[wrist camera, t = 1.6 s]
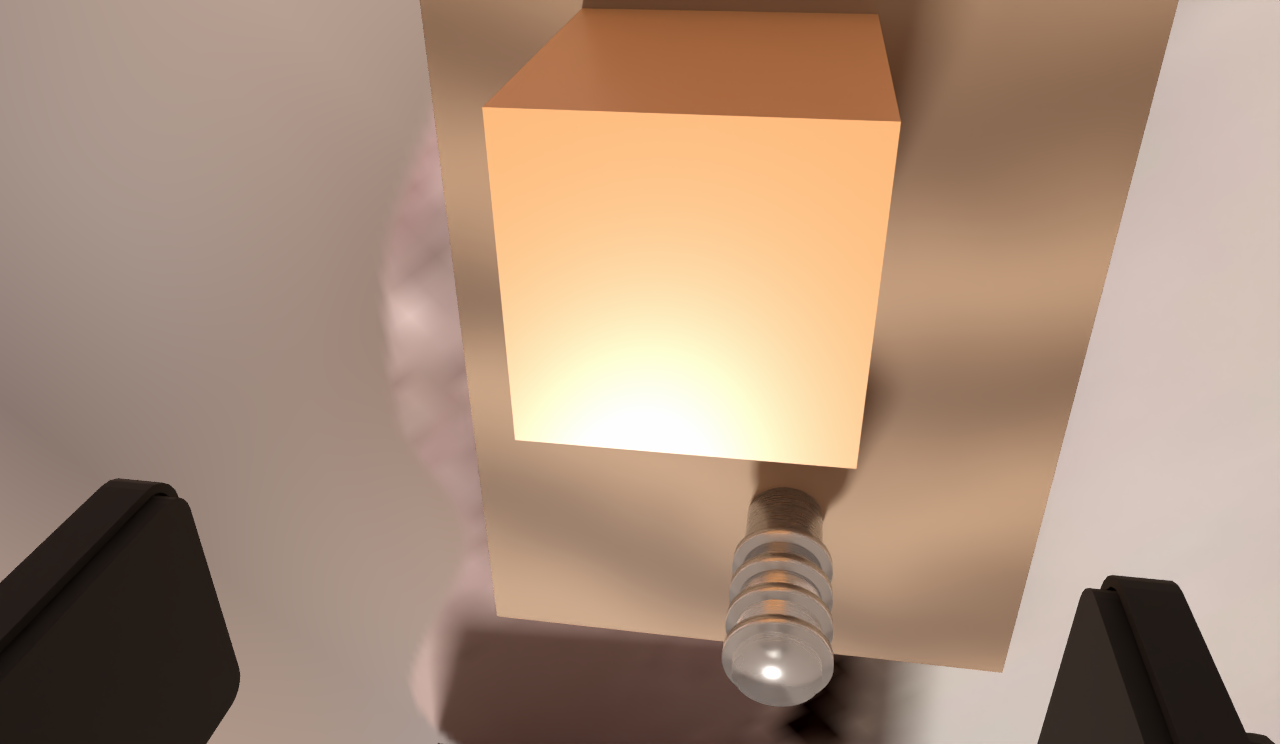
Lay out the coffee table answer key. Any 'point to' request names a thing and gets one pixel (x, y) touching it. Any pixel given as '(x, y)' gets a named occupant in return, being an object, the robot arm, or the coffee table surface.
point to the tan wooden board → (902, 343)
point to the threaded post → (780, 602)
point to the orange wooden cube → (695, 231)
